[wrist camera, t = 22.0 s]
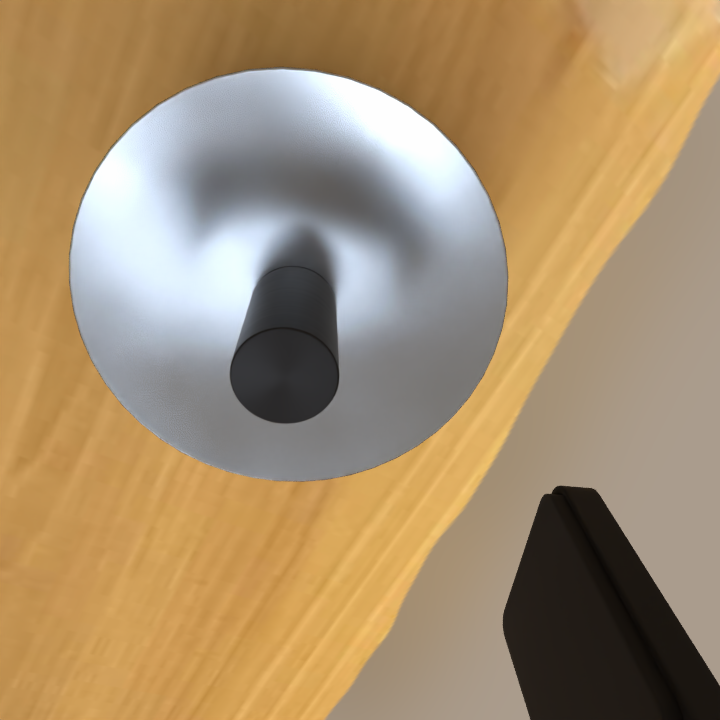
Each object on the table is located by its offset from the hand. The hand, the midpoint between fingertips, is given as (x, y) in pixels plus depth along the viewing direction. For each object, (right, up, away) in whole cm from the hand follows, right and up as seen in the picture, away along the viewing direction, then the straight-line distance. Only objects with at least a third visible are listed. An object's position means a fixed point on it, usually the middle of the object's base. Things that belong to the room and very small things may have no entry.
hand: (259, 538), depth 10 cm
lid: (-1, +5, +10) cm, 11 cm away
